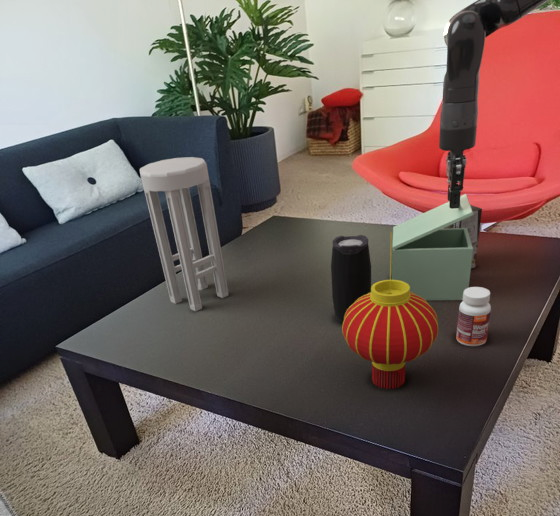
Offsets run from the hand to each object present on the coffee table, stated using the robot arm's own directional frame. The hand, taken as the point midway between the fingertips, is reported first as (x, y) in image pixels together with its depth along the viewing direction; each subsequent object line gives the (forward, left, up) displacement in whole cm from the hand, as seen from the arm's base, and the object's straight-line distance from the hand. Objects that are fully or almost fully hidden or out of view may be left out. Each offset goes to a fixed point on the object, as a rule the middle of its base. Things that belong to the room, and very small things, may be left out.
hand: (453, 203), depth 120 cm
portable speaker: (+22, +16, -22) cm, 35 cm away
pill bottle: (-4, +25, -22) cm, 33 cm away
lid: (+5, 0, -4) cm, 6 cm away
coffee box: (-4, -15, -22) cm, 27 cm away
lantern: (+13, +41, -22) cm, 48 cm away
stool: (+64, +5, -22) cm, 68 cm away
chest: (+4, 0, -22) cm, 22 cm away
